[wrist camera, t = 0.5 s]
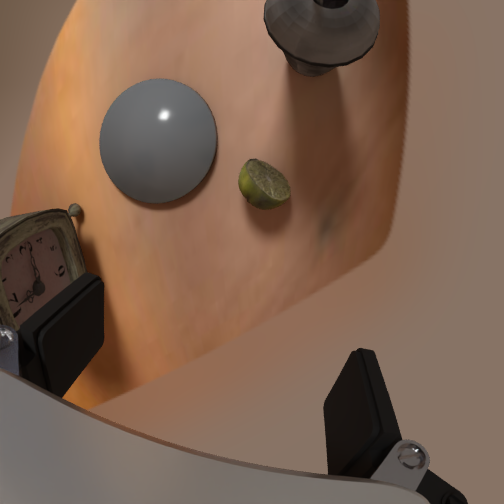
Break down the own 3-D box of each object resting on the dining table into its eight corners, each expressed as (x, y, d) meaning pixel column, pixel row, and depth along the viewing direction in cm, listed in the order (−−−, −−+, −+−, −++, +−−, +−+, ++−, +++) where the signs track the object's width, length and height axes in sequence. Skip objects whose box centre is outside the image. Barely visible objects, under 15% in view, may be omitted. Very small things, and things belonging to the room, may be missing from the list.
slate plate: (116, 75, 28) (111, 74, 27) (231, 90, 28) (229, 88, 27) (97, 187, 33) (93, 189, 32) (202, 213, 33) (200, 216, 32)
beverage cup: (359, 77, 26) (459, 13, 7) (290, 100, 28) (295, 49, 9) (328, 14, 24) (373, -108, 5) (260, 36, 25) (217, -80, 7)
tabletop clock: (113, 300, 39) (-4, 442, 15) (63, 298, 40) (-49, 411, 17) (87, 190, 33) (-94, 284, 10) (37, 200, 35) (-116, 280, 11)
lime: (243, 156, 30) (235, 161, 26) (293, 161, 30) (294, 166, 25) (240, 200, 32) (232, 212, 27) (288, 205, 32) (288, 218, 27)
